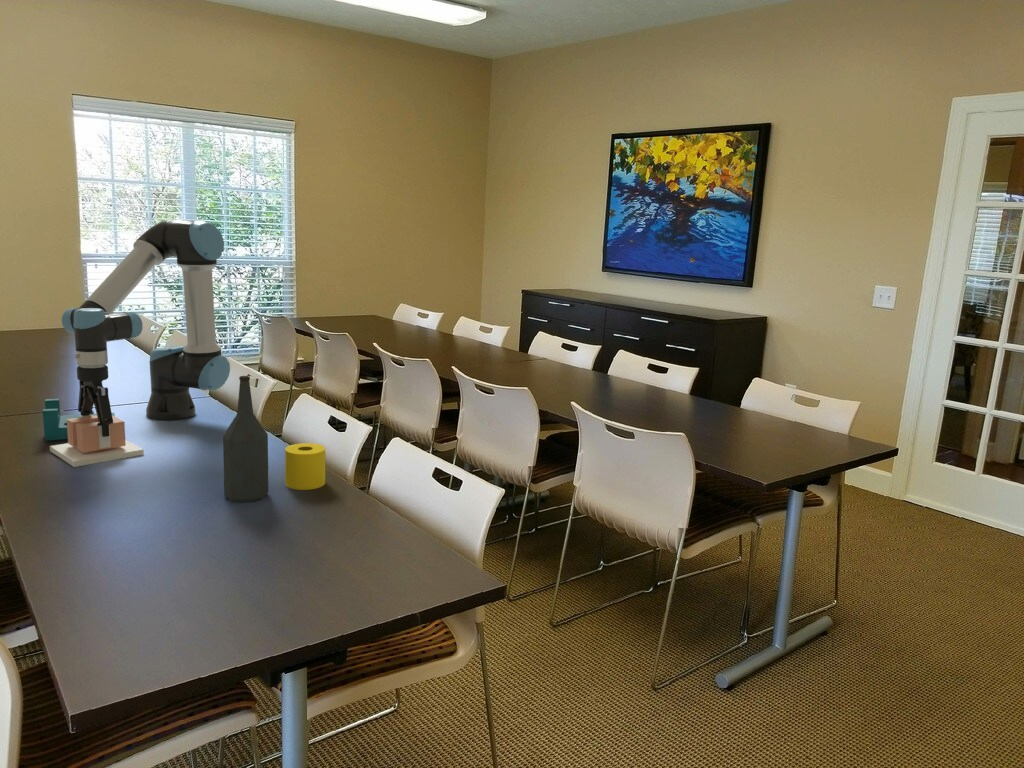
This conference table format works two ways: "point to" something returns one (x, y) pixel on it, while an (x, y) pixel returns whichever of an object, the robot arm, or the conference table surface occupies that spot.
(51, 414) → the teal l-shaped bracket
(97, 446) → the orange arch block
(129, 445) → the base
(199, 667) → the conference table surface
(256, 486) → the bottle
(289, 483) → the yellow toilet paper roll
